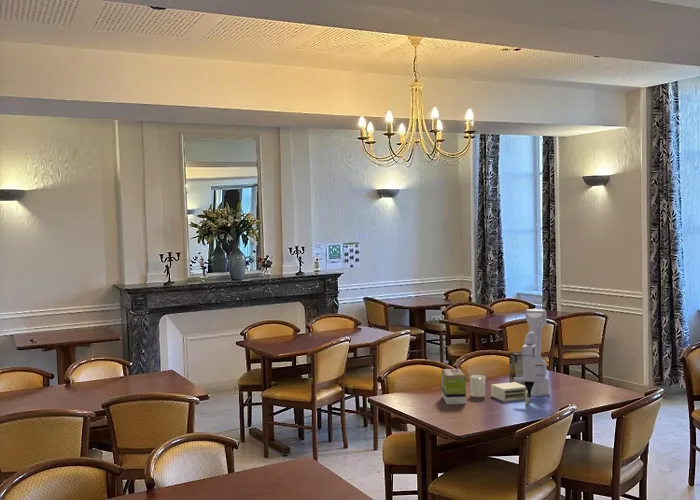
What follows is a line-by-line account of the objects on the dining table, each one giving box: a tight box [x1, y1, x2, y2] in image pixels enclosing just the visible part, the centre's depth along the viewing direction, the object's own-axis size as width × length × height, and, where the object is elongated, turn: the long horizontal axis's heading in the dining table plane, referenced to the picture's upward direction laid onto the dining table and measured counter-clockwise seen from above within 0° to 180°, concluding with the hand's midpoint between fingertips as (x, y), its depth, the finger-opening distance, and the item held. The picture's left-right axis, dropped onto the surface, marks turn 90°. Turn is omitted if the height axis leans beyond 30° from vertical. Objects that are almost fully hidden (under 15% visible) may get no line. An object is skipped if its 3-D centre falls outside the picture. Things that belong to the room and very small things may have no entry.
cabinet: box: [490, 381, 527, 402], centre depth 347 cm, size 14×12×6 cm
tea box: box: [441, 368, 467, 405], centre depth 343 cm, size 15×10×15 cm, turn 1°
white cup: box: [469, 374, 486, 398], centre depth 352 cm, size 8×8×10 cm
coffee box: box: [509, 351, 525, 385], centre depth 381 cm, size 9×6×16 cm
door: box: [524, 391, 531, 406], centre depth 337 cm, size 15×2×6 cm, turn 160°
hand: (529, 397), depth 334 cm, fingers closed
